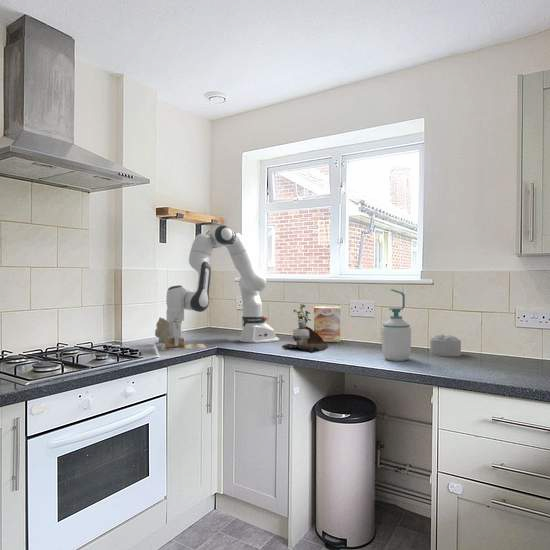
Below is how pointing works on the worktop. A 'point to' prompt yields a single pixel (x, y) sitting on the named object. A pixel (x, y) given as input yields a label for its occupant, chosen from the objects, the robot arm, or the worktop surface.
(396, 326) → the soap bottle
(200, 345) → the board
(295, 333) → the potted plant
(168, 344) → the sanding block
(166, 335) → the stone tool
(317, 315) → the coffeecake box
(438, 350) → the lumpy-topped squat cylinder
